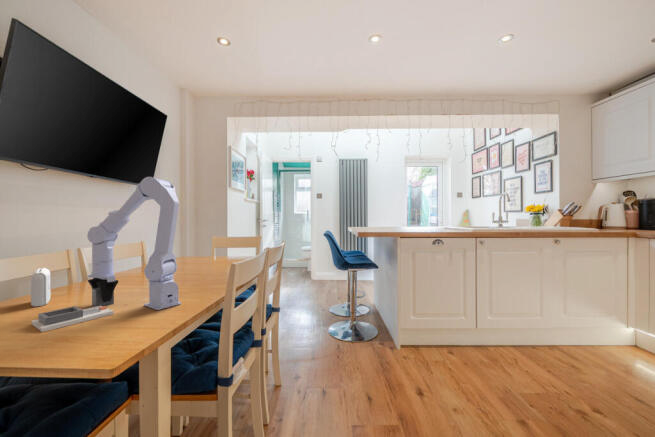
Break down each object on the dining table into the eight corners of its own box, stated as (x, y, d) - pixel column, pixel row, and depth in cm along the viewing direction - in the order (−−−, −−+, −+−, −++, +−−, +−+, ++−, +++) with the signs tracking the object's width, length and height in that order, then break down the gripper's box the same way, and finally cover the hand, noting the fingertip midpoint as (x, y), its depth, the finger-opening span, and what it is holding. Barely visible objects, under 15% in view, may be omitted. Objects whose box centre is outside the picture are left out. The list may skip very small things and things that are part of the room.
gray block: (113, 303, 97) (113, 287, 97) (96, 307, 93) (96, 290, 93) (109, 302, 99) (109, 285, 99) (92, 306, 95) (91, 288, 95)
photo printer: (35, 300, 100) (34, 267, 100) (51, 298, 103) (51, 265, 103) (29, 308, 92) (29, 271, 92) (47, 305, 95) (47, 269, 95)
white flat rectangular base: (113, 314, 87) (113, 304, 87) (41, 332, 73) (41, 320, 73) (100, 308, 92) (100, 299, 92) (31, 324, 79) (31, 313, 79)
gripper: (80, 260, 96) (80, 299, 96) (96, 264, 89) (97, 306, 89) (105, 258, 102) (105, 294, 102) (122, 261, 95) (122, 301, 95)
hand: (103, 299), depth 96 cm, fingers open, 6 cm apart
